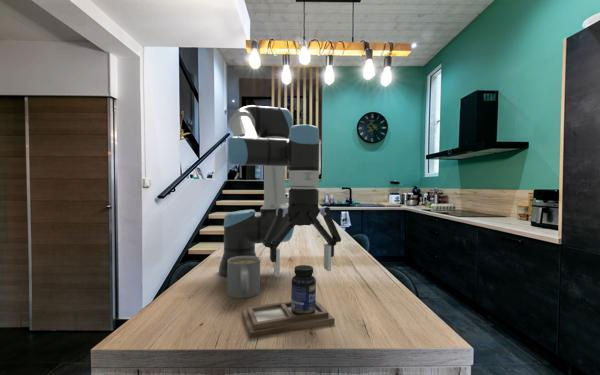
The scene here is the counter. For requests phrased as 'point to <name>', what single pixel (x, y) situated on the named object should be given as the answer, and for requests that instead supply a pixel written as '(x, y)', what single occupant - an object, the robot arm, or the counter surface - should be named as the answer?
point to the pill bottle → (303, 291)
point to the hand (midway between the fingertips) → (302, 272)
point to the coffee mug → (243, 276)
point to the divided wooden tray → (282, 319)
